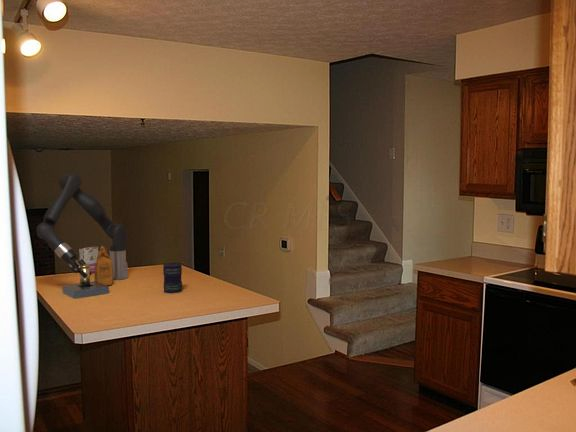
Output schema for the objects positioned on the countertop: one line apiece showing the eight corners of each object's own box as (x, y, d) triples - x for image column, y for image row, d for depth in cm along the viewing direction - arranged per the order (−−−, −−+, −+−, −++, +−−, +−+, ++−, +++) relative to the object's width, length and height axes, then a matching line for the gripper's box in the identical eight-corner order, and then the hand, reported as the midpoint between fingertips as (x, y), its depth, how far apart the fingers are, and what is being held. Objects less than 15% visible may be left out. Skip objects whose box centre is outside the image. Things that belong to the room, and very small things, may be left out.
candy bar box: (95, 271, 348) (94, 246, 346) (99, 272, 345) (99, 247, 343) (79, 273, 339) (78, 248, 338) (84, 274, 336) (83, 248, 334)
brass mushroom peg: (88, 282, 287) (88, 264, 286) (92, 284, 282) (92, 265, 282) (77, 283, 283) (77, 265, 282) (81, 285, 279) (81, 266, 278)
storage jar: (177, 293, 282) (177, 266, 280) (160, 293, 284) (159, 265, 282) (185, 289, 291) (184, 262, 290) (168, 289, 293) (167, 262, 292)
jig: (95, 288, 296) (95, 281, 296) (109, 293, 282) (108, 286, 282) (62, 292, 284) (62, 285, 284) (74, 298, 271) (74, 291, 270)
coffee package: (111, 282, 313) (110, 245, 311) (114, 286, 301) (113, 247, 300) (93, 283, 309) (92, 245, 307) (95, 287, 297) (94, 248, 296)
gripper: (64, 250, 275) (87, 273, 275) (76, 246, 289) (98, 268, 289) (54, 260, 275) (77, 283, 276) (67, 256, 290) (89, 278, 290)
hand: (88, 275), depth 282 cm, fingers closed on brass mushroom peg, 4 cm apart
